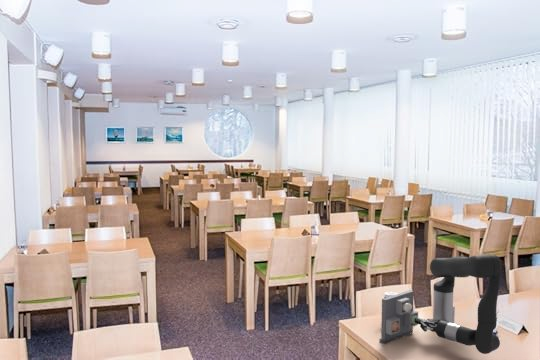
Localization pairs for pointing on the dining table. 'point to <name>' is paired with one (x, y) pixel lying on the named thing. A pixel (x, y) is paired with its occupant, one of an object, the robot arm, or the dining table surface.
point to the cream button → (406, 307)
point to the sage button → (413, 319)
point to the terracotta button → (395, 326)
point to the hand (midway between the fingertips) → (415, 320)
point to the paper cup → (389, 294)
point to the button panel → (396, 317)
